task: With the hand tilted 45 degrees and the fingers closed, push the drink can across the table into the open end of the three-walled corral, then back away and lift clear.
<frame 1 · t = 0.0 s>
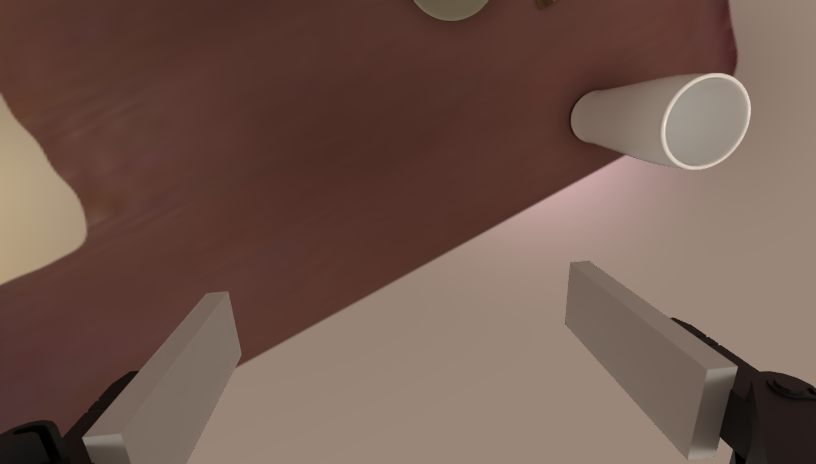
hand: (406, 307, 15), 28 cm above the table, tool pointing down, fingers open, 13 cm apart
drinking glass: (591, 116, 42), on the table
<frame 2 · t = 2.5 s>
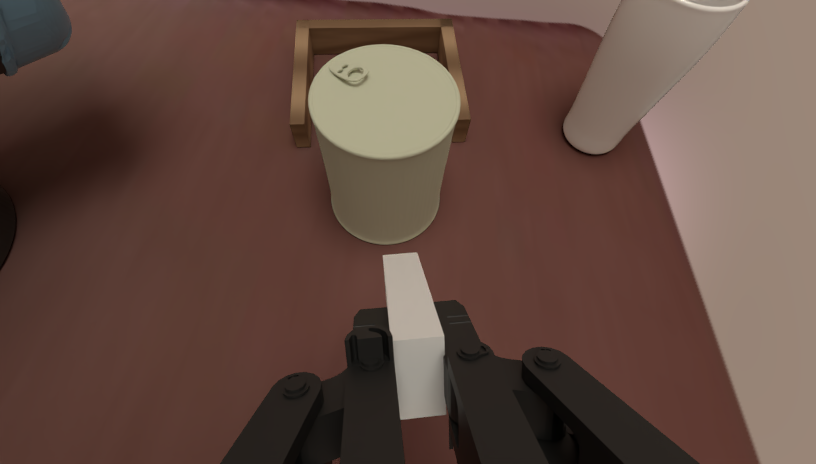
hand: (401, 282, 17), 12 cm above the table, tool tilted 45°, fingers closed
can: (385, 197, 34), on the table
drinking glass: (587, 136, 38), on the table
corral: (379, 95, 39), on the table
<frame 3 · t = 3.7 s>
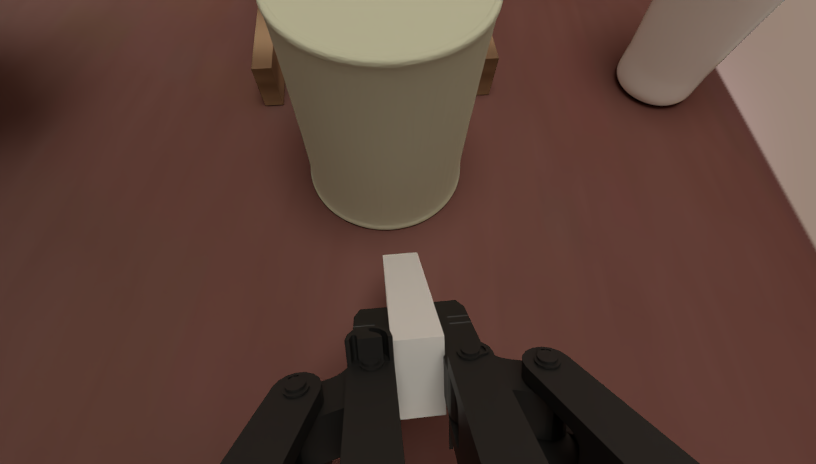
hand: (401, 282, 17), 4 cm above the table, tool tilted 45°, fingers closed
can: (386, 167, 25), on the table
drinking glass: (648, 85, 29), on the table
corral: (373, 41, 30), on the table
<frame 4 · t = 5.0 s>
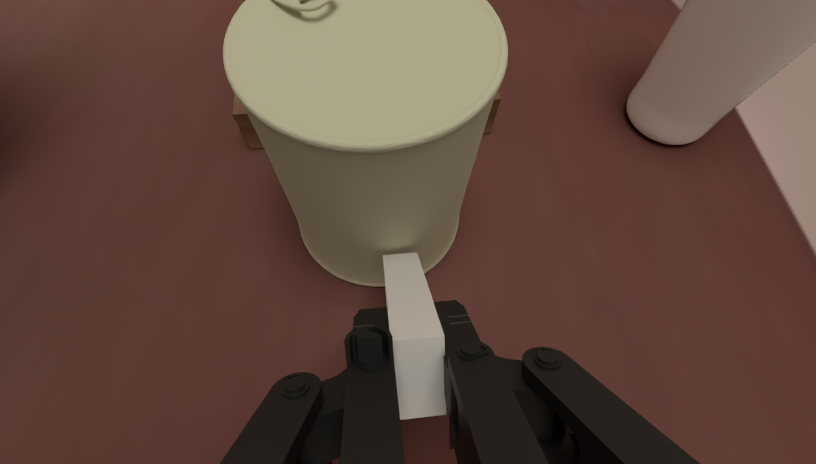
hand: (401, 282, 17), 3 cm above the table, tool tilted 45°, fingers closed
can: (379, 213, 23), on the table, touching gripper
drinking glass: (659, 120, 27), on the table
corral: (366, 74, 28), on the table
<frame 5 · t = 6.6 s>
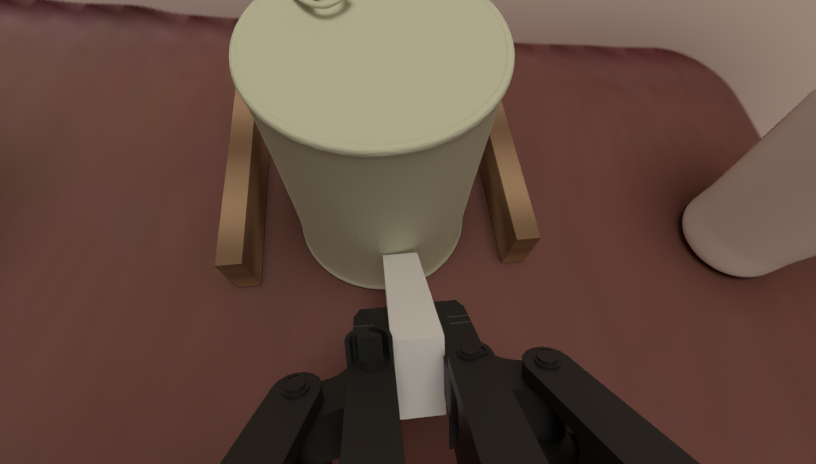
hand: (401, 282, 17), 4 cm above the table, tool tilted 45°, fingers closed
can: (383, 216, 23), on the table, touching gripper
drinking glass: (720, 239, 23), on the table
corral: (376, 181, 24), on the table
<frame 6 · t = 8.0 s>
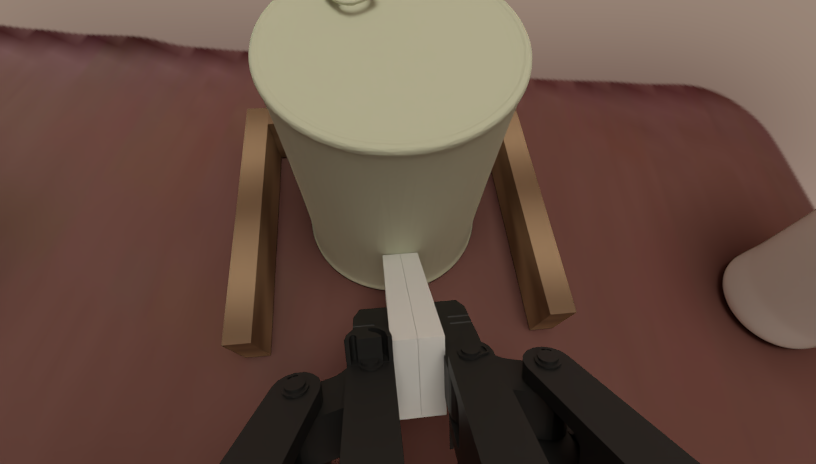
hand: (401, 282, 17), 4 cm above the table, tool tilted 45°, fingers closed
can: (392, 217, 23), on the table, touching gripper
drinking glass: (763, 302, 21), on the table
corral: (393, 235, 22), on the table
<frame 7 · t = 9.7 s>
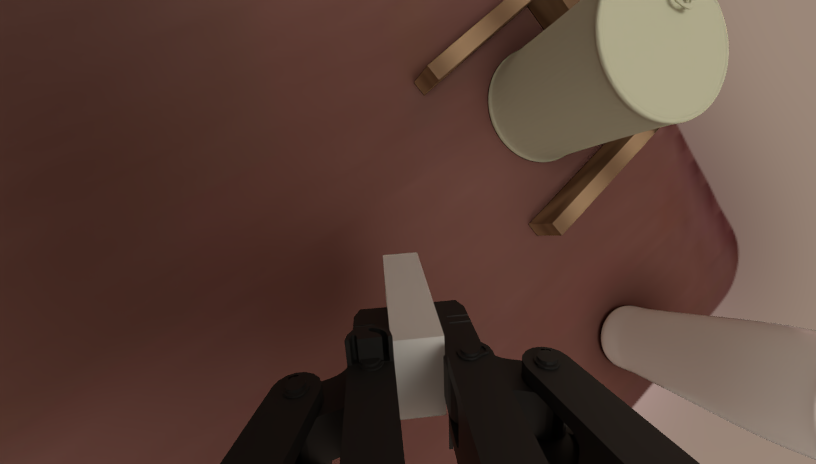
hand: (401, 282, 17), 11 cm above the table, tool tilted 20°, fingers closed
can: (536, 106, 32), on the table
drinking glass: (620, 334, 34), on the table
corral: (527, 114, 32), on the table
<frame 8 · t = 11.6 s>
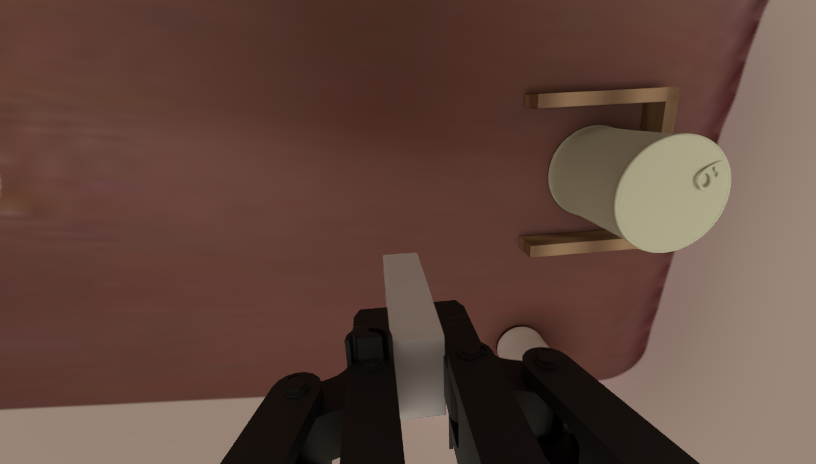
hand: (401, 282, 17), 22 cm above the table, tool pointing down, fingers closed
can: (590, 171, 40), on the table
drinking glass: (517, 343, 46), on the table
corral: (579, 171, 40), on the table
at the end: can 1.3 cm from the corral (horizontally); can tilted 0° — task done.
